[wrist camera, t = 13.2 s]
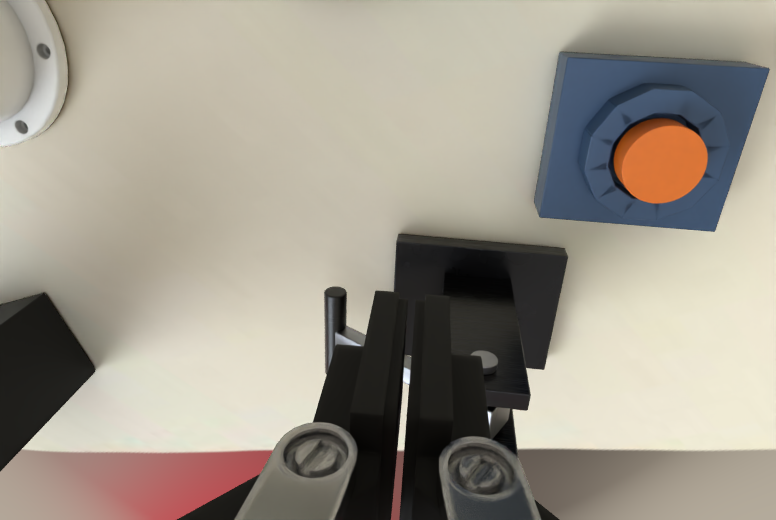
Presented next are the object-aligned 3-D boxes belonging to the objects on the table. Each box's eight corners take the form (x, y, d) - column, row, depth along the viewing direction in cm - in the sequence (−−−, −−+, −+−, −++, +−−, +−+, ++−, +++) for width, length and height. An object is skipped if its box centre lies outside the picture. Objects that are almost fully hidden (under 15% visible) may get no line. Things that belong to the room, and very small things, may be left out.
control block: (533, 201, 35) (543, 229, 31) (559, 51, 31) (573, 61, 27) (697, 215, 34) (728, 245, 30) (745, 61, 30) (789, 73, 26)
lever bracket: (392, 343, 41) (365, 480, 30) (398, 233, 37) (370, 342, 26) (541, 359, 40) (573, 506, 29) (564, 247, 36) (612, 368, 25)
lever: (340, 359, 37) (315, 376, 35) (340, 280, 34) (313, 295, 32) (503, 446, 30) (482, 473, 28) (519, 358, 27) (497, 382, 26)
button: (605, 189, 30) (613, 200, 28) (623, 115, 28) (632, 122, 26) (682, 195, 29) (694, 206, 28) (704, 120, 28) (718, 128, 26)
